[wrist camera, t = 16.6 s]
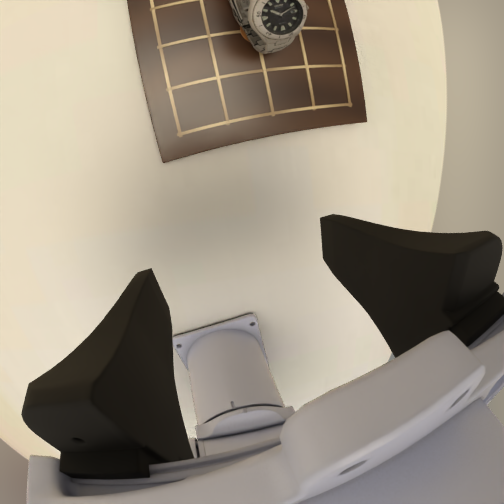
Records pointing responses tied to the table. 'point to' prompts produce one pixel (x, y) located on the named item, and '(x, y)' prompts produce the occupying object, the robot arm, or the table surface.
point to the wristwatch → (270, 22)
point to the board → (241, 75)
